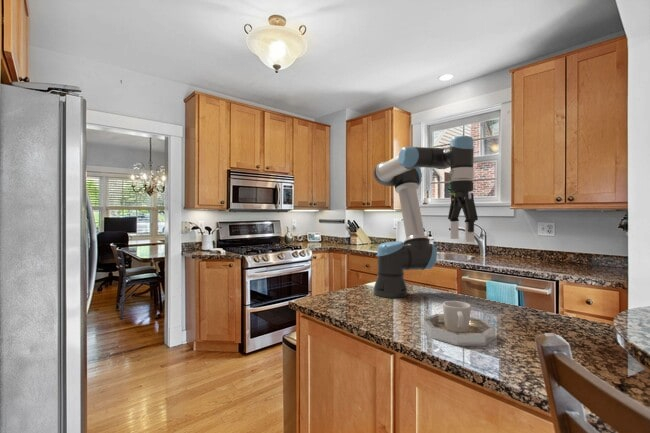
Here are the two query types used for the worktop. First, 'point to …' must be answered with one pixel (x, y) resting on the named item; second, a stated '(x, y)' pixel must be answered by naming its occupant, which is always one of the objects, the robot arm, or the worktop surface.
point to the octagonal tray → (474, 336)
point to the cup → (456, 316)
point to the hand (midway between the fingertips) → (461, 240)
